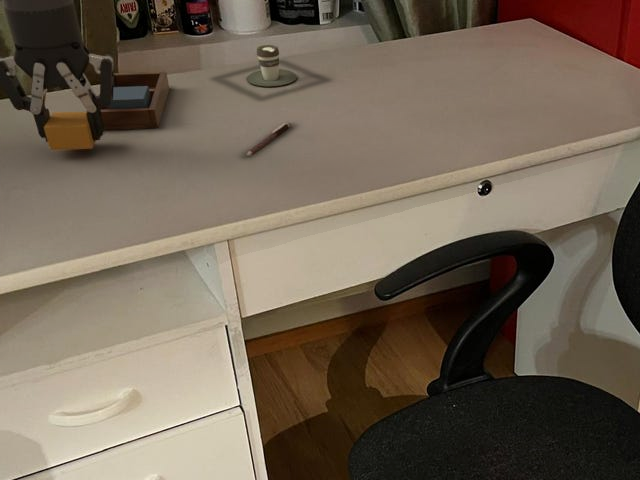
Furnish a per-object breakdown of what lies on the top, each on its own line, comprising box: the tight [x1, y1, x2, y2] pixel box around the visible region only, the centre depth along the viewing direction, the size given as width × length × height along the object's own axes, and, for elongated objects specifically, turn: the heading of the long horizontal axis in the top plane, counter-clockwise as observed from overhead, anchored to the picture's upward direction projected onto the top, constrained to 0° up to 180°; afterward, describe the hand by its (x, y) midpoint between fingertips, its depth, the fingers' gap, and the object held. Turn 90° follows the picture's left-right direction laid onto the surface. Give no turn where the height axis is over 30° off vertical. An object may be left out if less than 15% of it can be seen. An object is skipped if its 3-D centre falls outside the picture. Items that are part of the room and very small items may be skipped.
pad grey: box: [107, 86, 151, 110], centre depth 119 cm, size 5×5×3 cm
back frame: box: [98, 71, 170, 131], centre depth 123 cm, size 8×15×3 cm, turn 10°
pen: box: [246, 121, 291, 157], centre depth 115 cm, size 11×1×1 cm, turn 161°
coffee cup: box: [246, 44, 298, 88], centre depth 133 cm, size 12×12×5 cm
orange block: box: [44, 111, 97, 151], centre depth 110 cm, size 5×5×3 cm
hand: (73, 138), depth 110 cm, fingers closed on orange block, 5 cm apart
